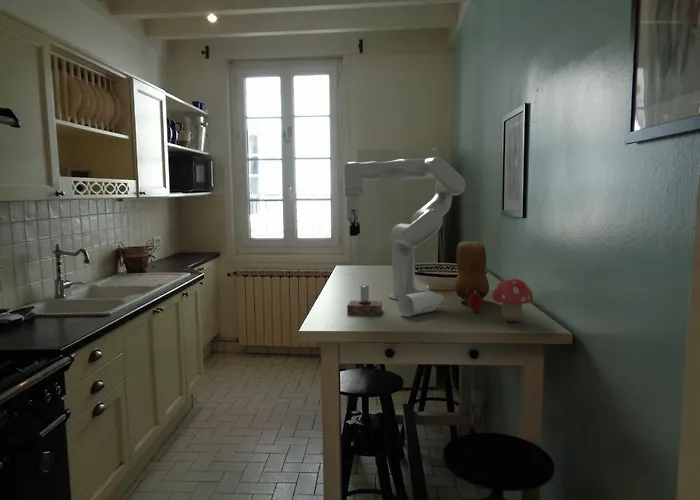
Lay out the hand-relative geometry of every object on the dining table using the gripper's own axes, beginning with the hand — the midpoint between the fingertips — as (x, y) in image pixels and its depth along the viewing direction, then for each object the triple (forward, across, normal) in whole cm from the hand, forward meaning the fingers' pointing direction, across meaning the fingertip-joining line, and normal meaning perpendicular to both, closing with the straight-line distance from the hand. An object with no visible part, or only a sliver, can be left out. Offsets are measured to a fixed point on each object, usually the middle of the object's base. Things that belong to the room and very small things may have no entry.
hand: (355, 234), depth 214 cm
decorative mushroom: (+28, +32, +57) cm, 71 cm away
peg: (+28, +21, +5) cm, 35 cm away
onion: (+28, +18, +46) cm, 57 cm away
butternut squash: (+28, -1, +47) cm, 55 cm away
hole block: (+28, +21, +5) cm, 35 cm away
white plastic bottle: (+28, +20, +26) cm, 43 cm away
